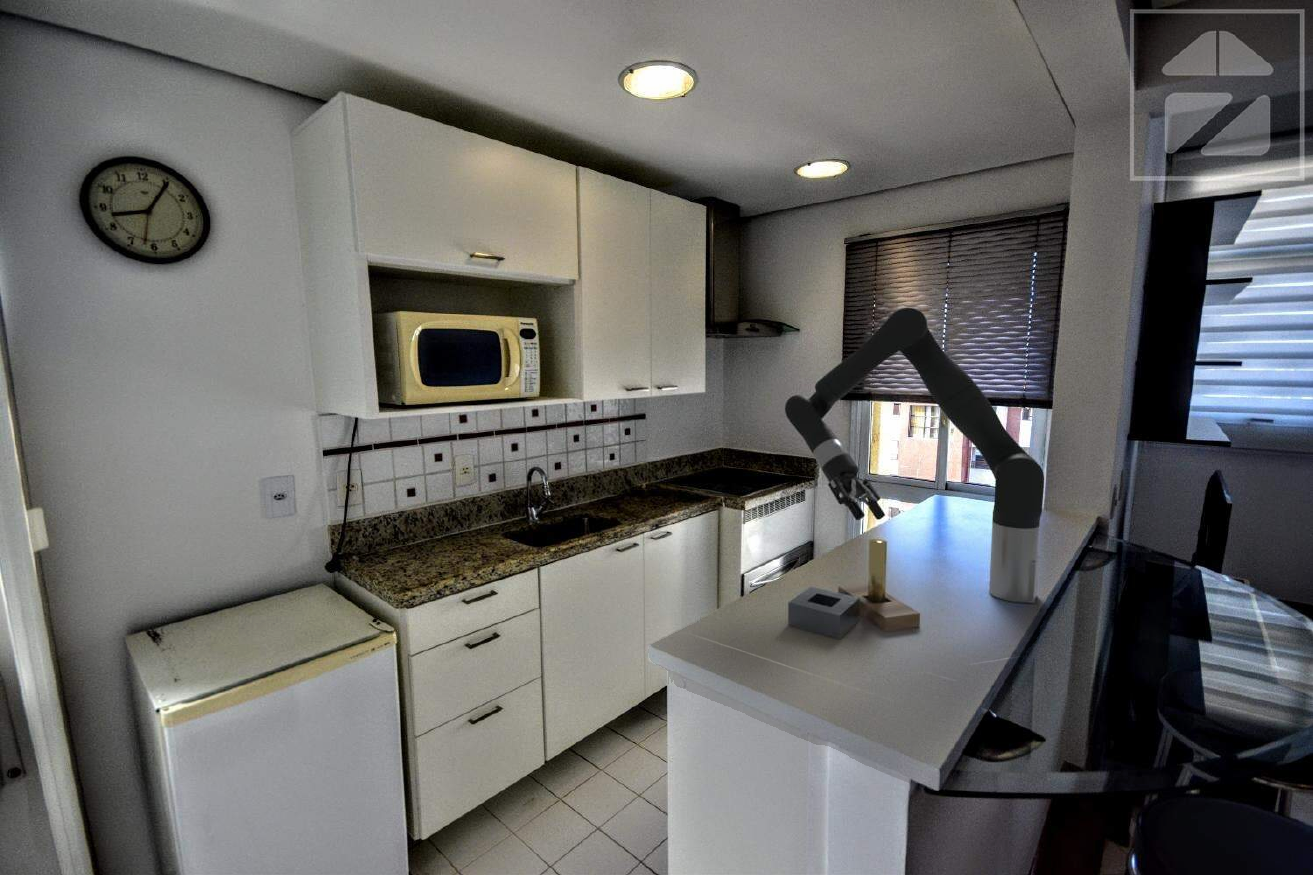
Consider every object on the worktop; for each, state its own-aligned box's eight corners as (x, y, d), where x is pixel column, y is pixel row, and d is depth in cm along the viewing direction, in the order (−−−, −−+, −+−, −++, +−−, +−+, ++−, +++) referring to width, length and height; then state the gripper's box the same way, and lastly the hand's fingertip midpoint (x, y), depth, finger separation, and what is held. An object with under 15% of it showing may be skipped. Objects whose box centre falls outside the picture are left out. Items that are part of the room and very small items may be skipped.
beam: (838, 598, 134) (838, 585, 134) (868, 594, 136) (868, 582, 135) (885, 631, 117) (885, 617, 116) (919, 626, 118) (920, 613, 118)
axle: (887, 611, 126) (889, 540, 125) (882, 616, 124) (883, 544, 122) (870, 607, 129) (872, 537, 127) (865, 612, 126) (866, 541, 124)
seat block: (859, 620, 122) (859, 597, 121) (839, 639, 114) (839, 615, 113) (810, 607, 129) (810, 586, 128) (788, 625, 120) (788, 602, 120)
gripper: (828, 450, 133) (866, 509, 125) (862, 454, 142) (900, 508, 133) (806, 469, 138) (842, 527, 129) (841, 472, 146) (876, 526, 138)
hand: (871, 518), depth 131 cm, fingers open, 8 cm apart
